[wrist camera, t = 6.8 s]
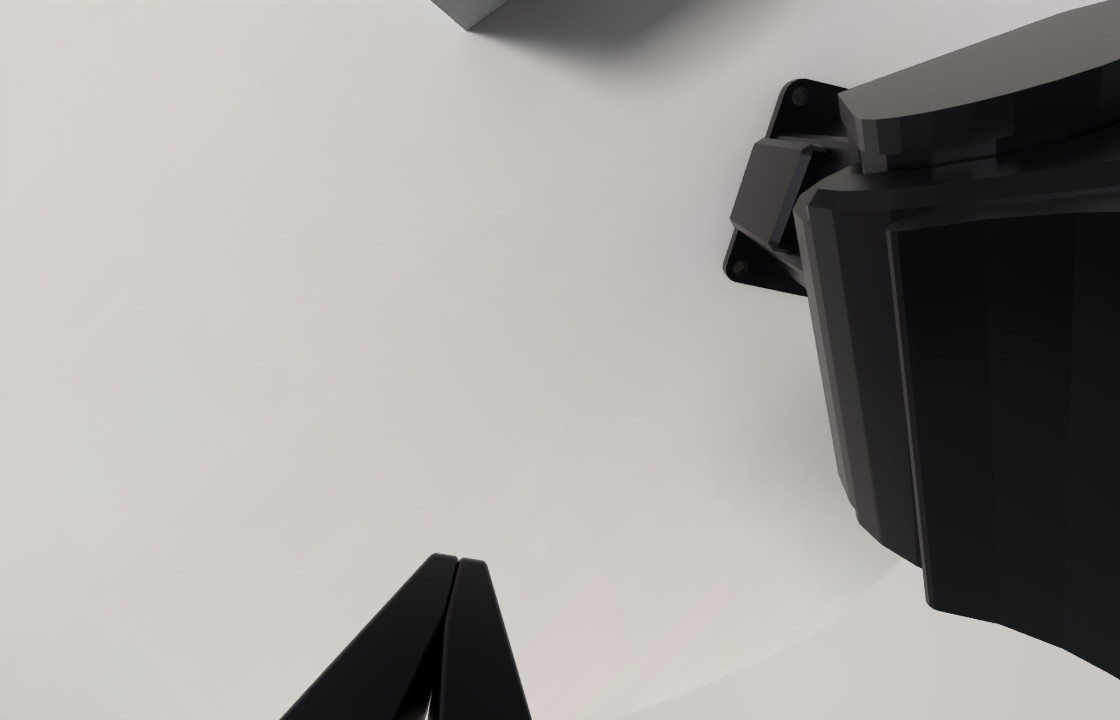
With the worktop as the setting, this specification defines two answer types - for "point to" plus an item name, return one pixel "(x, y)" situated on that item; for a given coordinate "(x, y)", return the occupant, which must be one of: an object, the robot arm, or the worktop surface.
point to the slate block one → (468, 10)
